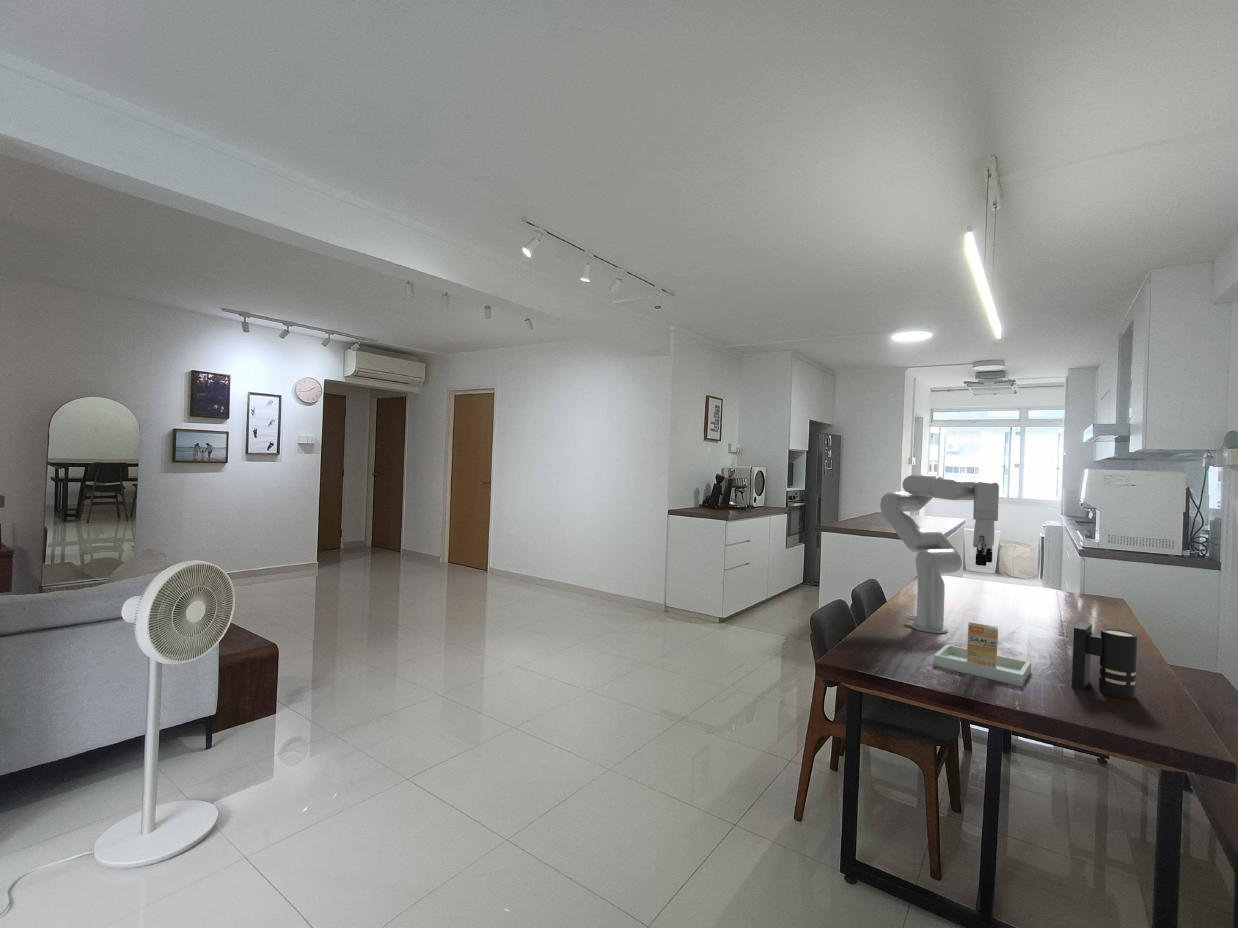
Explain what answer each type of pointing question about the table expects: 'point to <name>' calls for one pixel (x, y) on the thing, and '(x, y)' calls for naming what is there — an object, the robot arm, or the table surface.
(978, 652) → the supplement box
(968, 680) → the table surface
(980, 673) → the tray
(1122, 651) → the outdoor wall sconce
